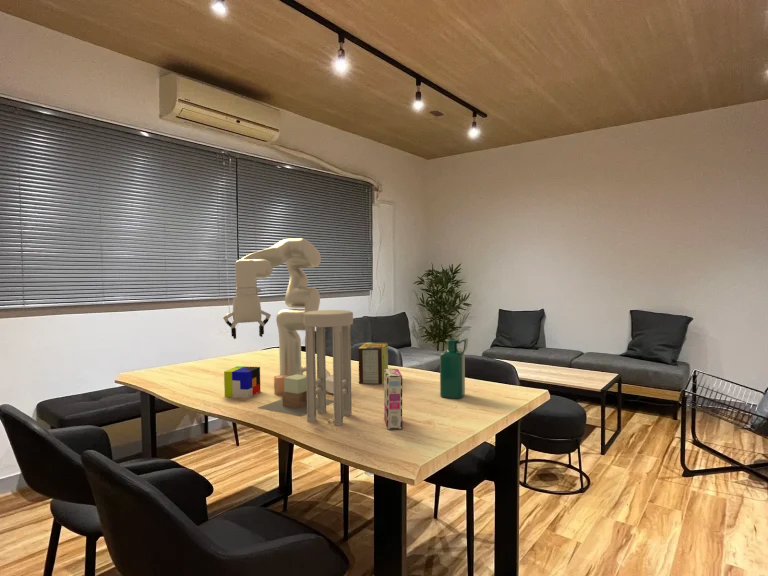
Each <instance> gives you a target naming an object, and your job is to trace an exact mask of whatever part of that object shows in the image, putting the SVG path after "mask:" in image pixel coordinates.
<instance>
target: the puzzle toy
mask: <svg viewBox="0 0 768 576" xmlns="http://www.w3.org/2000/svg"><path fill="white" fill-rule="evenodd" d="M223 380H224V381H223V382H224V383H223V384H224V398H237V397H241V398H242V399H249V398H251V397H253V396H255V395H256V393H257V392H258V393H260V392H261V367H260V366H243V365H242V366H237V365H236V366H234V367H232V368H230V369H227V370H224V371H223ZM259 391H260V392H259ZM258 393H257V394H258ZM254 394H255V395H254ZM252 395H253V396H252ZM241 398H240V399H241Z"/></svg>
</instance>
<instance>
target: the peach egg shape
mask: <svg viewBox="0 0 768 576" xmlns="http://www.w3.org/2000/svg"><path fill="white" fill-rule="evenodd" d="M285 377H289V376H288V375H280V374H278V375H275V376H274V377H273V382H274V383H273V386H274V388H273V389H274V391H273V392H274V395H276V396H282V392H283V391H284V378H285Z"/></svg>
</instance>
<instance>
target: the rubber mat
mask: <svg viewBox="0 0 768 576" xmlns="http://www.w3.org/2000/svg"><path fill="white" fill-rule="evenodd" d="M331 404H334V399H333V400H331V399H327V398H326V407H327V406H329V405H331ZM257 409H259V410H260V409H261V410H265V411H271V412H275V413H281V414H285V415H292V416H296V417H303V416H305V415H306V416H307V406H304V407H302V408H299V409H298V408H292V407H287V406H283V398H281V399H278V400H276V401H273V402H270V403H266V404H264V405H262V406H259V407H257ZM316 411H318V402H317V397H316Z"/></svg>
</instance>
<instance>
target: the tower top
mask: <svg viewBox="0 0 768 576" xmlns="http://www.w3.org/2000/svg"><path fill="white" fill-rule="evenodd" d="M305 391H307V384H306V374H303V375H299V374H295V375H292V376H289V377H285V378H284V392H289V393H295V394H300V393H303V392H305Z"/></svg>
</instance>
